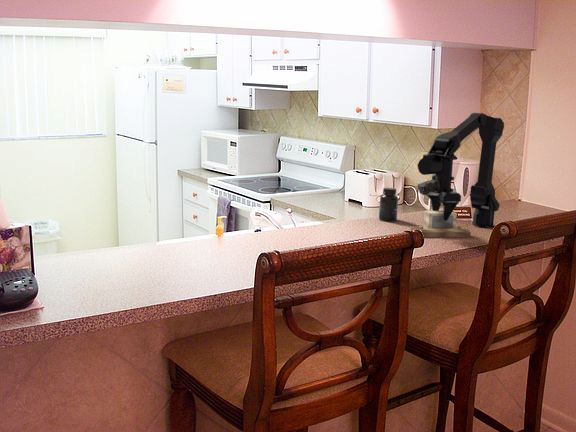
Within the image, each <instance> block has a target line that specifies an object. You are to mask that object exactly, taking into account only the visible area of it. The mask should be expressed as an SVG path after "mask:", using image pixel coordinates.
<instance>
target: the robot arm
mask: <svg viewBox="0 0 576 432" xmlns="http://www.w3.org/2000/svg"><path fill="white" fill-rule="evenodd" d="M504 128H505V122H504V121H503V119H502V118H501V117H493V116H490V115H487V114H485V113H482V112H472V113H471V114H470V115H469V116H468V117H467V118H466V119H464V120H463V121H462V122H461V123H459V124H458V125H457V126H456V127H455V128H454V129H451V131H448V132H444V133H442V134H441V133H440V135H438V136H436V137H435V139H434V141H433V143H432V145H431V147H430V148H429V150H428V151H427V154H426V153H424V154H423V155H422V158H420V159H419V161H418V163H417V170H418V172H419V174H421V175H422V176H423V175H424V176H425V175H426V176H427V175H428V176H429V175H432V176H431V179H430V180H427V181H423V182H420V183H418V184H417V185H416V186H417V189H418V192H419V195H422V196H426V197H427V198H428V199H429V200H430V204H431V211H440V208H441V205H442V211H443V217H444V221H447V220H448V218H449V217H450V215H451V213H452V211H453V212H454V210H455V208H456V207H457V205H459V203H460V202H461V201H462V195H461V194H460V193H459V192H456V191H454V189H453V188H452V181H454V180H455V176H453V165H454V161H457V160H458V157H457V156H456V155H455V154H456V152H457V151H458V149H460V147H461V144H462V142H463V141H464V140H465V139H466V138H468V136H470V135H471V134H472V133H473V132H475V131H476V130H477V129H478V136H479V138H480V140H481V148H480V158H479V167H478V175H477V181H476V182H475V183H474V184H473V185H472V184H471V186H470V193H469V199H470V205H471V209H474V212H473V217H472V222H471V224H472V225H474V226H476V227H478V228H495V227H496V225H495V224H494V221H495V212H497V211H499V209H500V206H501V205H500V203H499V202H498V199H497V198H496V190H495V187H494V185H493V181H492V180H493V175H494V174H493V173H494V166H495V159H496V150H497V143H498V141H499V140H500V139H501V138H502V136H503V132H504ZM494 226H495V227H494Z"/></svg>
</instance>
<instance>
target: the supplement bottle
mask: <svg viewBox="0 0 576 432" xmlns="http://www.w3.org/2000/svg"><path fill="white" fill-rule="evenodd" d="M382 193H383V194H382V195H381V196H380V198H379V209H378V210H379V211H378V219H379V220H380V221H382V222H396V221H397V219H398V209H399V208H398V207H399V197H398V196H397V188H394V187H383V190H382Z"/></svg>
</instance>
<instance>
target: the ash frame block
mask: <svg viewBox="0 0 576 432" xmlns="http://www.w3.org/2000/svg"><path fill="white" fill-rule="evenodd" d="M423 214H424V216H423V217H424V218H423V226H424V227H423V228H425V229H456V226H457V215H458V213H457V212H455V211H454V210H453V211H452V213H451V215H450V217H449V218H448V220H447V221H444V217H443V210H439V211H433V210H424V213H423Z"/></svg>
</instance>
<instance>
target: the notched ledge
mask: <svg viewBox="0 0 576 432" xmlns="http://www.w3.org/2000/svg"><path fill="white" fill-rule="evenodd" d="M423 227H424V225H421V226H410V229H409V230H414V229H418V230H421V231H422V233H423V235H424V237H423V238H448V237H449V238H452V237H453V238H454V237H455V238H457V237H459V238H460V237H462V238H465V237H466V238H467V237H469V238H470V237H471V233H472V232H471V229H470V228H463V227H462V226H461V225H456V229H425V228H423Z"/></svg>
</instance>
